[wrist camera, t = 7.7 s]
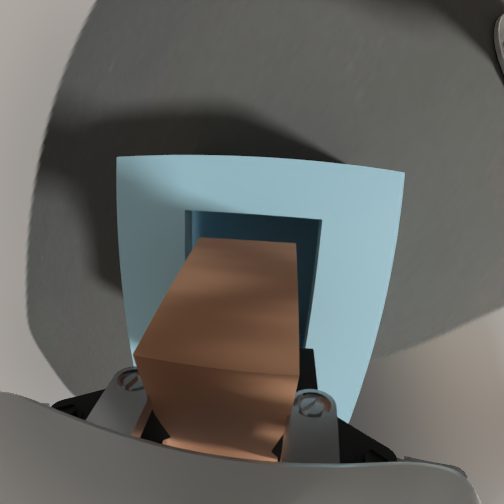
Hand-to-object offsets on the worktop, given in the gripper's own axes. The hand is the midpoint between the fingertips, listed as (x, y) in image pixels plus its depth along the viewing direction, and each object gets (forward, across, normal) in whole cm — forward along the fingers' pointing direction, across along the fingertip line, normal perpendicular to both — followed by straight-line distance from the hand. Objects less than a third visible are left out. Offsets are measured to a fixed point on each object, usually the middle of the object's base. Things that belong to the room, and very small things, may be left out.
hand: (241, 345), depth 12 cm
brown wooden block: (+1, 0, 0) cm, 1 cm away
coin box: (+12, 0, 0) cm, 12 cm away
